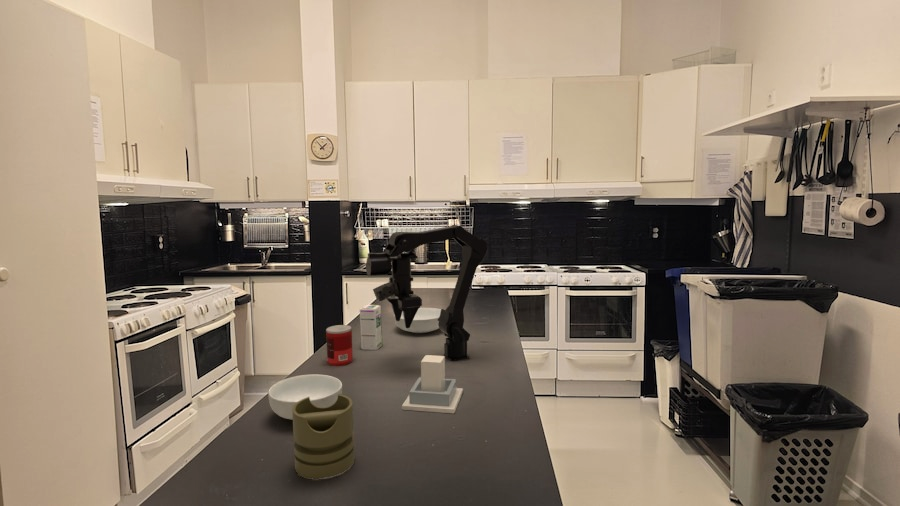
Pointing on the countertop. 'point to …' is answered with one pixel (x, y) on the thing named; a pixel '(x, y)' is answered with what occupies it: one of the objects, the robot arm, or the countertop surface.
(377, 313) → the syrup box
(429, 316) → the serving bowl
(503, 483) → the countertop surface
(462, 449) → the countertop surface
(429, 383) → the plug
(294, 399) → the cereal bowl
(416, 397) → the socket
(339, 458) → the piston
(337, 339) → the canned food
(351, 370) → the countertop surface
